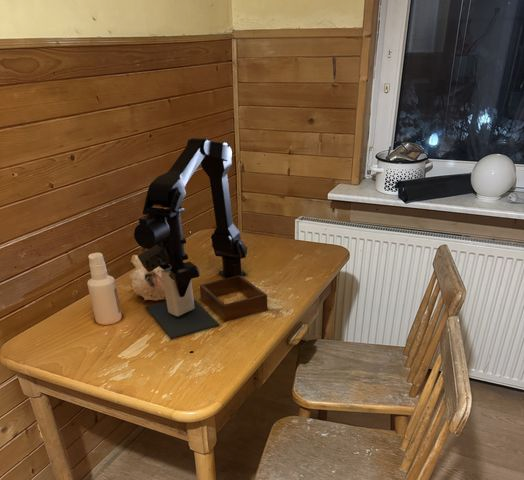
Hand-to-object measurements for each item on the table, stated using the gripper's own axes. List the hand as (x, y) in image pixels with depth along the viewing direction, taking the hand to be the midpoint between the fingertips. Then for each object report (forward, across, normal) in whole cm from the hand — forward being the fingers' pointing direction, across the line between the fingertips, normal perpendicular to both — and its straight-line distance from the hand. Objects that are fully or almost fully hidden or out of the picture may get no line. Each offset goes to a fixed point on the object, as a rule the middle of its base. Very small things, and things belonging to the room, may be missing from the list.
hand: (178, 293), depth 131 cm
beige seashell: (+7, -18, -1) cm, 20 cm away
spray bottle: (+7, -9, -17) cm, 21 cm away
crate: (+7, +1, +15) cm, 16 cm away
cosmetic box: (+6, 0, 0) cm, 6 cm away
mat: (+7, 0, 0) cm, 7 cm away
